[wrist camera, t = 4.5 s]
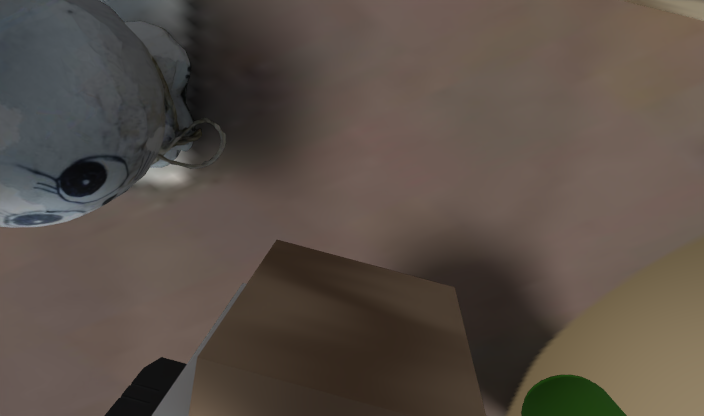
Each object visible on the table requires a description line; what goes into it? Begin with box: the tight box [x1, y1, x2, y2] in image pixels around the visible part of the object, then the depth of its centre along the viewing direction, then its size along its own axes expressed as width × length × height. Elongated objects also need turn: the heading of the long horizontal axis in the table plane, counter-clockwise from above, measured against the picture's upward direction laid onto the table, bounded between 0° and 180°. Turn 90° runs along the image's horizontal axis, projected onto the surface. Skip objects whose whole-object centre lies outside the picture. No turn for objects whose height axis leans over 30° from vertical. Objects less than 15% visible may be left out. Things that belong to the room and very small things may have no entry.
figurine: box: [0, 0, 226, 227], centre depth 17 cm, size 10×9×15 cm
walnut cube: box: [189, 240, 486, 416], centre depth 12 cm, size 6×6×6 cm
